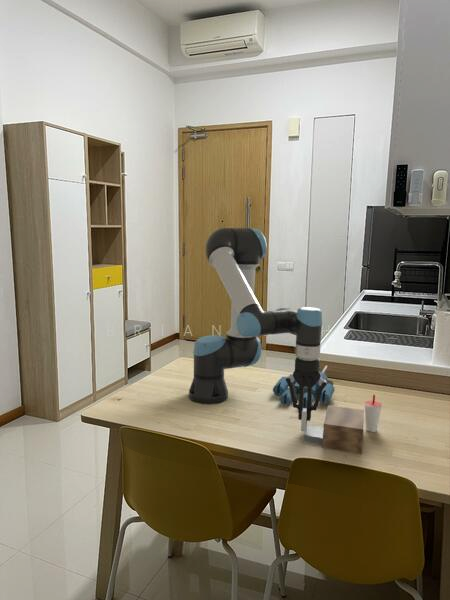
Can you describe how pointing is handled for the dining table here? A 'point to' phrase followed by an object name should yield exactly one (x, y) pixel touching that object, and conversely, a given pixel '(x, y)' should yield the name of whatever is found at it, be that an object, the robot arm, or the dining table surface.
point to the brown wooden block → (343, 429)
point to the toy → (286, 395)
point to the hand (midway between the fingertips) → (304, 429)
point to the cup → (372, 414)
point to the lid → (314, 434)
